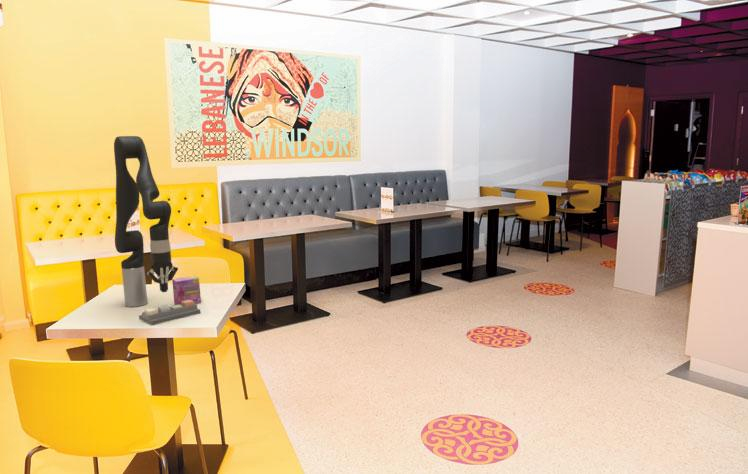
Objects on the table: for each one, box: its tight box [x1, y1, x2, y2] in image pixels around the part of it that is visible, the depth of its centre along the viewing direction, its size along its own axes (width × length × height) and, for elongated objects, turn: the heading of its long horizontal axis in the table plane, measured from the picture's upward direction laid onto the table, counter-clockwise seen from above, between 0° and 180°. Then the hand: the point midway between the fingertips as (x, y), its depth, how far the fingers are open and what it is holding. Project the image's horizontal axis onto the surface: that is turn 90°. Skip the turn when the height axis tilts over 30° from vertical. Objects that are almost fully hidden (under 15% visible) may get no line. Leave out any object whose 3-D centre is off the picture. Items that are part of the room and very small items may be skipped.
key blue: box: [156, 304, 171, 312], centre depth 230 cm, size 4×4×2 cm
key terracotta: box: [181, 300, 194, 307], centre depth 237 cm, size 4×4×2 cm
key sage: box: [169, 304, 183, 310], centre depth 234 cm, size 4×4×2 cm
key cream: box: [144, 307, 158, 315], centre depth 227 cm, size 4×4×2 cm
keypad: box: [138, 303, 201, 326], centre depth 233 cm, size 12×21×3 cm, turn 135°
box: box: [171, 275, 202, 305], centre depth 249 cm, size 10×6×12 cm, turn 126°
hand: (164, 291), depth 229 cm, fingers closed
